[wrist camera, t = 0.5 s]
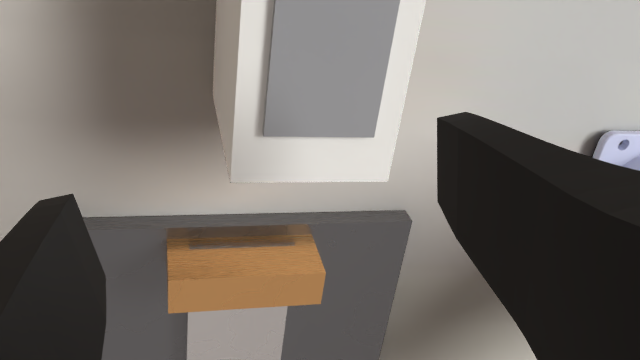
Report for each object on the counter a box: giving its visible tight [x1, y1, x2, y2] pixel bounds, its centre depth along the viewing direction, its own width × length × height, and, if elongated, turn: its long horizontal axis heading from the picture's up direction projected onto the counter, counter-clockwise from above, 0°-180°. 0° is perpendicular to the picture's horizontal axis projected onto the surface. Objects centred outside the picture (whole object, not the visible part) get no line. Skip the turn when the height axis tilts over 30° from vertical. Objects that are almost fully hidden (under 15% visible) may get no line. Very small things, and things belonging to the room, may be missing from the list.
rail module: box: [213, 0, 426, 183], centre depth 17 cm, size 4×8×6 cm, turn 173°
